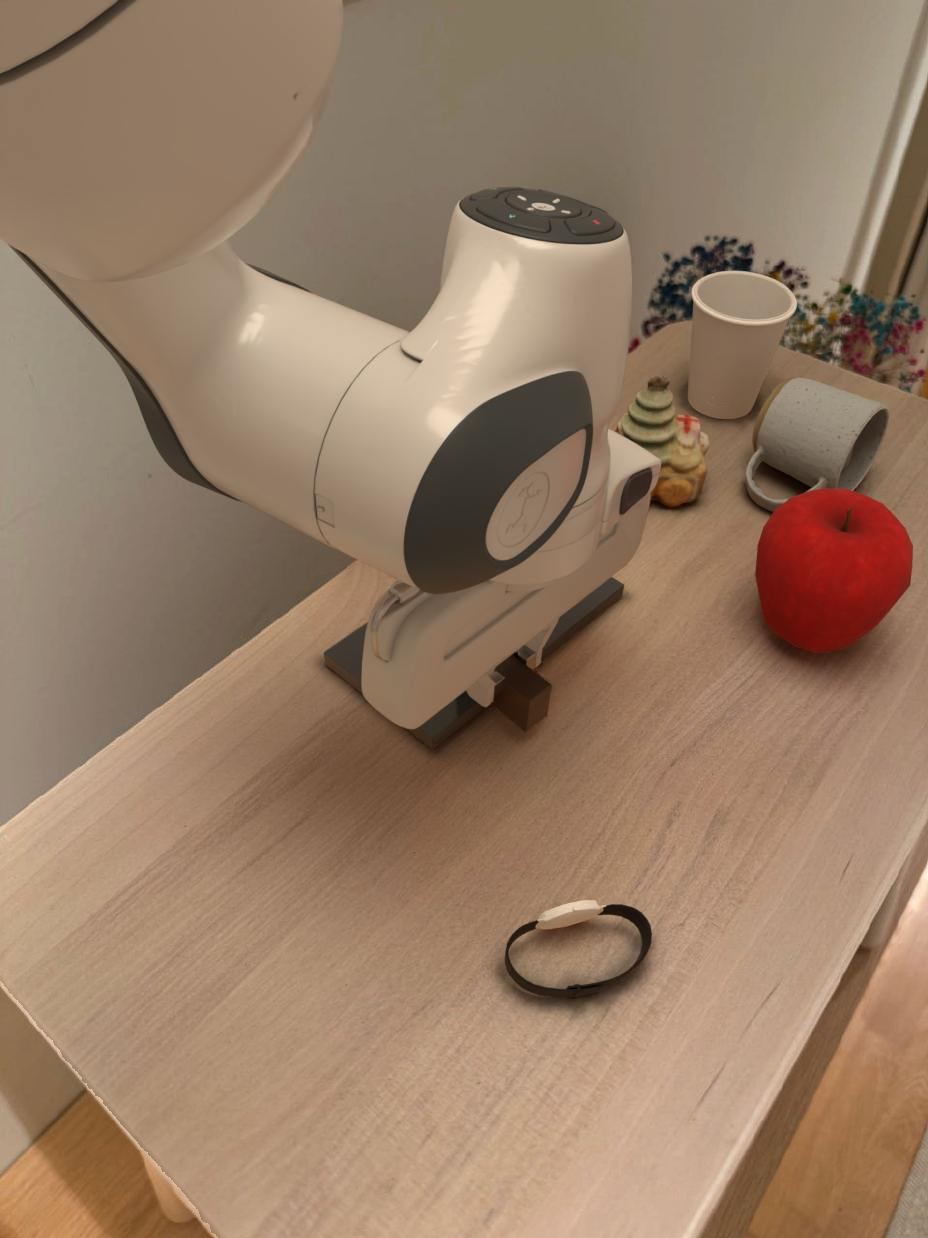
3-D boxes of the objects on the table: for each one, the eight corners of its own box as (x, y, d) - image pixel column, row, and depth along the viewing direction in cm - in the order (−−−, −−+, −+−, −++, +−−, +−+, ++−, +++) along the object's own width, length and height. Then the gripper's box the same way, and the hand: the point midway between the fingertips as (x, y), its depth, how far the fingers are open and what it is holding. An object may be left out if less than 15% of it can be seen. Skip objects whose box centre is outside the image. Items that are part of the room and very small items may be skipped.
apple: (869, 701, 68) (926, 578, 61) (723, 657, 71) (759, 534, 63) (887, 602, 75) (940, 480, 67) (752, 565, 77) (788, 443, 70)
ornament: (693, 462, 86) (717, 353, 79) (710, 510, 82) (737, 400, 74) (595, 463, 85) (611, 354, 78) (607, 512, 81) (625, 402, 74)
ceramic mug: (783, 431, 89) (806, 351, 84) (873, 472, 85) (903, 391, 80) (715, 490, 84) (734, 409, 78) (809, 537, 80) (835, 455, 74)
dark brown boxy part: (525, 733, 64) (529, 701, 62) (393, 627, 70) (392, 595, 68) (548, 716, 65) (552, 684, 63) (415, 613, 71) (415, 580, 69)
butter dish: (432, 750, 65) (432, 738, 64) (324, 664, 70) (323, 652, 69) (622, 596, 75) (624, 584, 74) (516, 530, 79) (517, 518, 79)
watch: (628, 906, 58) (638, 870, 55) (660, 986, 55) (672, 953, 52) (492, 936, 56) (495, 901, 54) (516, 1020, 53) (521, 988, 51)
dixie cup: (681, 366, 96) (701, 262, 89) (774, 384, 94) (803, 280, 87) (663, 416, 90) (683, 309, 83) (761, 437, 88) (791, 329, 81)
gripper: (418, 638, 48) (419, 812, 58) (681, 449, 59) (643, 623, 69) (326, 570, 51) (341, 747, 61) (592, 402, 62) (568, 576, 72)
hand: (503, 680), depth 65 cm, fingers closed on dark brown boxy part, 2 cm apart
